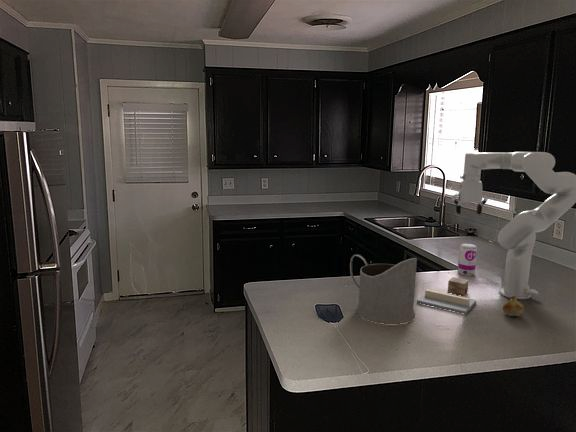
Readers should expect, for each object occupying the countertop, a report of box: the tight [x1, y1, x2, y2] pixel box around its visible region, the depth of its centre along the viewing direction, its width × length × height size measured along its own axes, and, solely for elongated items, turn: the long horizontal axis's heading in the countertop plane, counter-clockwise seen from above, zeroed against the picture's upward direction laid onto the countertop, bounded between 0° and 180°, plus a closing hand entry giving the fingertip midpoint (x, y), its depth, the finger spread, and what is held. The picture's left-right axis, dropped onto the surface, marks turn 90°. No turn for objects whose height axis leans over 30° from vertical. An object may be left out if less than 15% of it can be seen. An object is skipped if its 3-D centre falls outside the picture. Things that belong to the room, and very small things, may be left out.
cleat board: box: [416, 289, 477, 315], centre depth 199 cm, size 20×16×4 cm
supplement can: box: [457, 242, 478, 277], centre depth 240 cm, size 8×8×15 cm
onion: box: [502, 296, 525, 317], centre depth 187 cm, size 8×8×8 cm
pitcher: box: [349, 254, 418, 324], centre depth 189 cm, size 23×32×25 cm
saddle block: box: [446, 276, 470, 297], centre depth 212 cm, size 7×6×6 cm
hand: (468, 213), depth 229 cm, fingers open, 9 cm apart
